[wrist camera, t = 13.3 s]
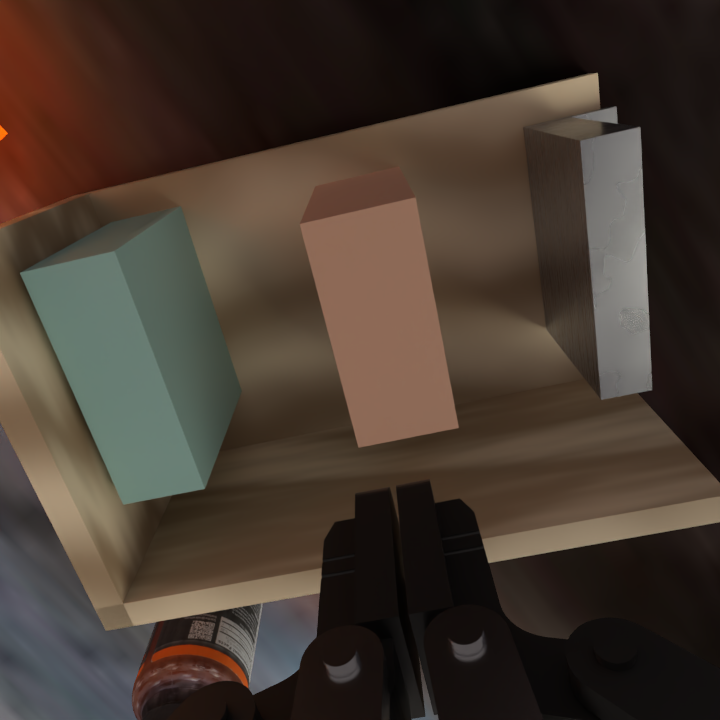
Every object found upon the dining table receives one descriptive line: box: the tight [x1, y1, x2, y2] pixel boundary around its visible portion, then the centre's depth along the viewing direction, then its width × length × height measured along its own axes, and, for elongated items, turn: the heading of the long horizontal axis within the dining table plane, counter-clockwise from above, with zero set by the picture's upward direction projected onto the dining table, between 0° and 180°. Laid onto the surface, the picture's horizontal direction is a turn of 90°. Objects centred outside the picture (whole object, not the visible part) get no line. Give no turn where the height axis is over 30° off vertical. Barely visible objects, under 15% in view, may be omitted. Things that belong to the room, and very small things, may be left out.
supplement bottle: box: [132, 603, 263, 720], centre depth 36 cm, size 6×6×11 cm
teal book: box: [20, 206, 242, 505], centre depth 28 cm, size 10×4×9 cm, turn 13°
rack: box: [0, 73, 720, 631], centre depth 28 cm, size 16×25×12 cm, turn 103°
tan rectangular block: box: [300, 167, 459, 448], centre depth 27 cm, size 4×9×9 cm, turn 13°
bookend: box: [523, 106, 652, 400], centre depth 27 cm, size 10×4×8 cm, turn 13°
